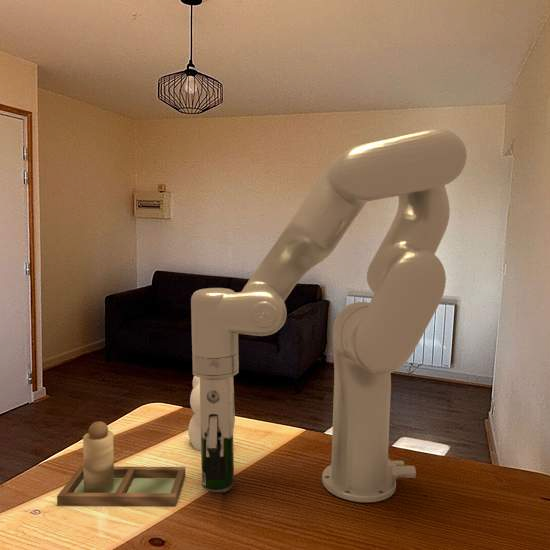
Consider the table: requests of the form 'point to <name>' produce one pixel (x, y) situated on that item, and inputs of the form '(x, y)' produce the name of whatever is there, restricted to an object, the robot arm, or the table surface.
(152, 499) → the caddy
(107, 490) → the pepper mill
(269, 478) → the table surface
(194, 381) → the cat figurine
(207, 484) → the guarana soda can
